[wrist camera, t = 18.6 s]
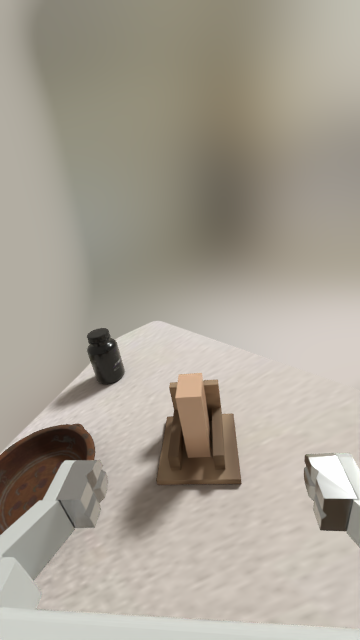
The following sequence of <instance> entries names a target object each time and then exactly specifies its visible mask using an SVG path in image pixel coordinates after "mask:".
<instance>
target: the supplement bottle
mask: <svg viewBox="0 0 360 640" xmlns="http://www.w3.org/2000/svg"><path fill="white" fill-rule="evenodd" d="M87 338H88V342H89V344H90V345H89V346H88V349H87V352H88V355H89V358H90V361H91V364H92V367H93V370H94V373H95V376H96V378H97V380H98V382H100V383H102V384H110V383H114V382H116V381H118V380H119V379H121V378H122V376H123V375H124V372H125V370H124V366H123V363H122V359H121V356H120V352H119V349H118V345H117V342H116V341H115V340H114V339H112V338H111V336H110V334H109V331H108V329H106V328H100V329H96V330H93V331H91V332H90V333H88V335H87Z"/></svg>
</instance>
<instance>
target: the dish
mask: <svg viewBox="0 0 360 640" xmlns="http://www.w3.org/2000/svg"><path fill="white" fill-rule="evenodd" d="M94 457H95V446H94V442H93V439H92V437H91V435H90V434H89V433H88V432H87V431H86V430H85V429H84V427H83V426H82V425H81V424H73V425H69V424H66V425H58V426H53V427H49V428H45V429H42V430H39V431H37V432H34V433H32V434H31V435H29V436H27V437H25V438H23V439H21V440H19V441H18V442H16V443H15V444H13V445H12V446H10V447H9V448H8V449H7V450H5V451H4V452H3V453H2V454H1V455H0V535H1V534H2V533H3V532H4V531H6V530H7V529H8V528H9V527H10V526H11V525H12V524H13V523H14V522H16V521H17V520H18V519H19V518H20V517H21V516H22V515H23V514H25V513H26V512H27V511H28V510H29V509H30V508H31V507H32V506H34V505H35V504H36V503H37V502H38V501H40V500H43V498H44V496H45V495H46V493H47V491H48V489H49V487H50V485H51V483H52V481H53V479H54V477H55V475H56V473H57V471H58V470H59V468H60V466H61V464H62V463H63V462H64V461H67V460H94Z"/></svg>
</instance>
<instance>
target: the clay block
mask: <svg viewBox="0 0 360 640" xmlns="http://www.w3.org/2000/svg"><path fill="white" fill-rule="evenodd" d="M175 399H176V403H177V408H178V413H179V418H180V422H181V427H182V432H183V436H184V441H185V446H186V451H187V455H188V458H194V457H211V433H210V424H209V417H208V410H207V404H206V397H205V390H204V384H203V377H202V373H194V374H180V375H179V377H178V383H177V390H176V397H175Z"/></svg>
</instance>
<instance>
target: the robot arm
mask: <svg viewBox="0 0 360 640" xmlns="http://www.w3.org/2000/svg"><path fill="white" fill-rule="evenodd" d="M305 463H306V467H305V468H304V480H305V485H306V489H307V492H308V495H309V497H310V498H311V499H312V500H313V501H314V506H313V511H314V513H315V516H316V519H317V522H318V525H319V528H320V530H326V531H347V534H348V535H349V536H350V537H351V538H352V539H353V541H354V542H355V543H356V544H357V545H358V546H359V547H360V469H359V467H358V466H357V464H356V462H355V460H354V458H353V456H352V455H351V454H350V453H338V454H334V453H325V454H306V455H305ZM102 466H103V465H102V463H101V461H100V460H67V461H64V462H63V463H62V464H61V466H60V468H59V470H58V471H57V473H56V475H55V477H54V479H53V481H52V483H51V485H50V487H49V489H48V491H47V493H46V495H45V496H44V498H43V500H40V501H38V502H37V503H36V504H35V505H34V506H32V507H31V508H30V509H29V510H28V511H27V512H26V513H25V514H23V515H22V516H21V517H20V518H19V519H18V520H17V521H16V522H14V523H13V524H12V525H11V526H10V527H9V528H8V529H7V530H6V531H4V532H3V533H2V534H1V535H0V640H360V629H358V628H341V627H325V626H308V625H291V624H275V623H258V622H242V621H225V620H209V619H192V618H175V617H159V616H142V615H126V614H109V613H92V612H76V611H59V610H42V609H37V606H38V603H39V601H40V598H41V596H42V592H41V589H40V588H39V587H38V586H37V584H36V583H35V582H34V580H35V578H36V577H37V576H38V575H39V573H40V572H41V571H42V570H43V568H44V567H45V566H46V565H47V563H48V562H49V561H50V560H51V558H52V557H53V556H54V555H55V553H56V552H57V551H58V550H59V548H60V547H61V546H62V545H63V543H64V542H65V541H66V540H67V538H68V537H69V536H70V535H71V534H72V532H73V531H74V530H75V529H74V528H95V526H96V523H97V520H98V517H99V514H100V511H101V508H100V504H99V503H100V502H101V501H102V500H103V499H104V498H105V495H106V492H107V486H108V478H107V474H106V472H104V471H103V470H102Z"/></svg>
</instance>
